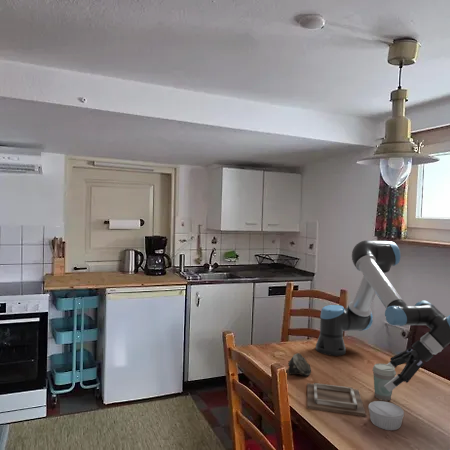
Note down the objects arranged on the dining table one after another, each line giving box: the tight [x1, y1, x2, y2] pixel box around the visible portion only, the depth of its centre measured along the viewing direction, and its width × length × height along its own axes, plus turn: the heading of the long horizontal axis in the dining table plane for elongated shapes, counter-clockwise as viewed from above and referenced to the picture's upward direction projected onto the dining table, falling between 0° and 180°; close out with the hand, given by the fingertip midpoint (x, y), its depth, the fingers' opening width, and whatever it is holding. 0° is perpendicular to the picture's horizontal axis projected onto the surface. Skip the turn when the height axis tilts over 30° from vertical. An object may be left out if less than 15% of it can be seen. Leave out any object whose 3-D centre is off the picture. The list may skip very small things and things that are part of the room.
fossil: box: [287, 353, 312, 377], centre depth 175 cm, size 11×9×10 cm
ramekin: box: [367, 400, 405, 431], centre depth 134 cm, size 11×11×5 cm
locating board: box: [306, 382, 367, 417], centre depth 150 cm, size 20×20×2 cm
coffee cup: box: [372, 363, 397, 402], centre depth 154 cm, size 8×8×12 cm
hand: (383, 381), depth 154 cm, fingers open, 13 cm apart
